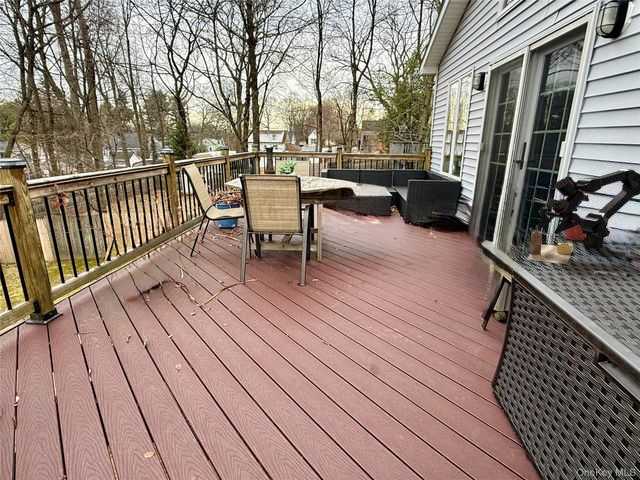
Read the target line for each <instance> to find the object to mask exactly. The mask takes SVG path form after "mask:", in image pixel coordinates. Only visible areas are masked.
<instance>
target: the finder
mask: <svg viewBox="0 0 640 480" xmlns="http://www.w3.org/2000/svg"><path fill="white" fill-rule="evenodd" d="M573 245H574V244H573V243H567V242H558V243H557V245H556V246H557V253H567V254H571V255H572V252H573V250H572V247H573Z"/></svg>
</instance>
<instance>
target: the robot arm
mask: <svg viewBox="0 0 640 480" xmlns="http://www.w3.org/2000/svg"><path fill="white" fill-rule="evenodd" d="M618 182H620V183H622V185H621V191H619V192H618V193H617V194H616V195H615V196H613V198H612V199H611V200H610V201H608V202H607V203H606V204H605V205H604V206H603V207H602V208H601V209H600V210H599V211H598V212H596V213H593V212H589V213H588V214H587V215H586V216H584V217H582V216H580V215H579V214H578V213H577V212H578V211H579V210H578V207H579V206H580V205H581V204H582V203H583V202H590V199H589V195H588V194H585V193H589V194H593V193H596V192H598V191H599V190H601V189H602V188H603V187H605V186H608V185H612V184H615V183H618ZM554 188H555V190H557V191H558V192H559V193H560V195H562V196H563V197H565V199H563V198H560V199H559V200H558V199H555V198H554V199H553V198H548V200H547V202H546V203H545V206H546V207H540V208H539V209H538V210H537V212H538V214H539V215H540V220H539V222H538V231H540V230H541V229H543V228H544V227H546V226H547V225H548V224H550V223H551V222H552V220H554V219H555V218H557V219H561V222H560V223H559V225H558V226H557V227H556V228H555V229H554V232H553V234H554V235H558V234H559V233H563V232H565V230H567V229H570V228H572V227H576V226H581V230H582V233H583V234H586V237H584V239H583V242H582V243H583V244H582V245H583V247H587V248H591V249H600V248H601V249H603V248H604V247H603V246H604V240H605V238H606V237H609V236H610V233H611V231H610V230H609V229H608V224H609V220H610V219H611V218H612V217H614V215H615V214H616V213H617V212H619V211H620V210H621V209H622V208H623V207H624V206H625V205H626V204H627V203H628V202H629V201H630V200H632V199H633V198H634V197H636V196H639V195H640V173H639V172H637V171H635V170H634V169H633V168H632V169H631V168H620V169H619V170H616V171H613V172H609V173H606V174H603V175H600V176H596V177H583V178H578V179H577V181H574V179H573V178H572V177H571V176H567V175H566V176H565V177H564V178H562V179H559V180H558V181H556V182H555V184H554ZM549 207H550V208H549ZM582 218H583V219H582Z"/></svg>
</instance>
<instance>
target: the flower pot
mask: <svg viewBox="0 0 640 480" xmlns="http://www.w3.org/2000/svg"><path fill="white" fill-rule="evenodd" d="M581 218H582V219H583V218H584V217H581ZM564 236H565V239H567V240H571V241H584V237H586V234H583V233H582V230H581V226H576V227H572V228H570V229H567V230H564Z"/></svg>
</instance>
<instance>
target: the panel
mask: <svg viewBox="0 0 640 480" xmlns="http://www.w3.org/2000/svg"><path fill="white" fill-rule="evenodd" d="M573 249H574V247H573V246H572V251H573ZM571 255H572V253H571V254H567V253H557V245H550V244H541V254H540V255H533V254H531V253H530V254H529V255H528V257H527V258H526V260H527V261H528V260H529V261H535V262H546V263H553V264H563V265H568V262H569V260H570V258H571Z"/></svg>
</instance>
